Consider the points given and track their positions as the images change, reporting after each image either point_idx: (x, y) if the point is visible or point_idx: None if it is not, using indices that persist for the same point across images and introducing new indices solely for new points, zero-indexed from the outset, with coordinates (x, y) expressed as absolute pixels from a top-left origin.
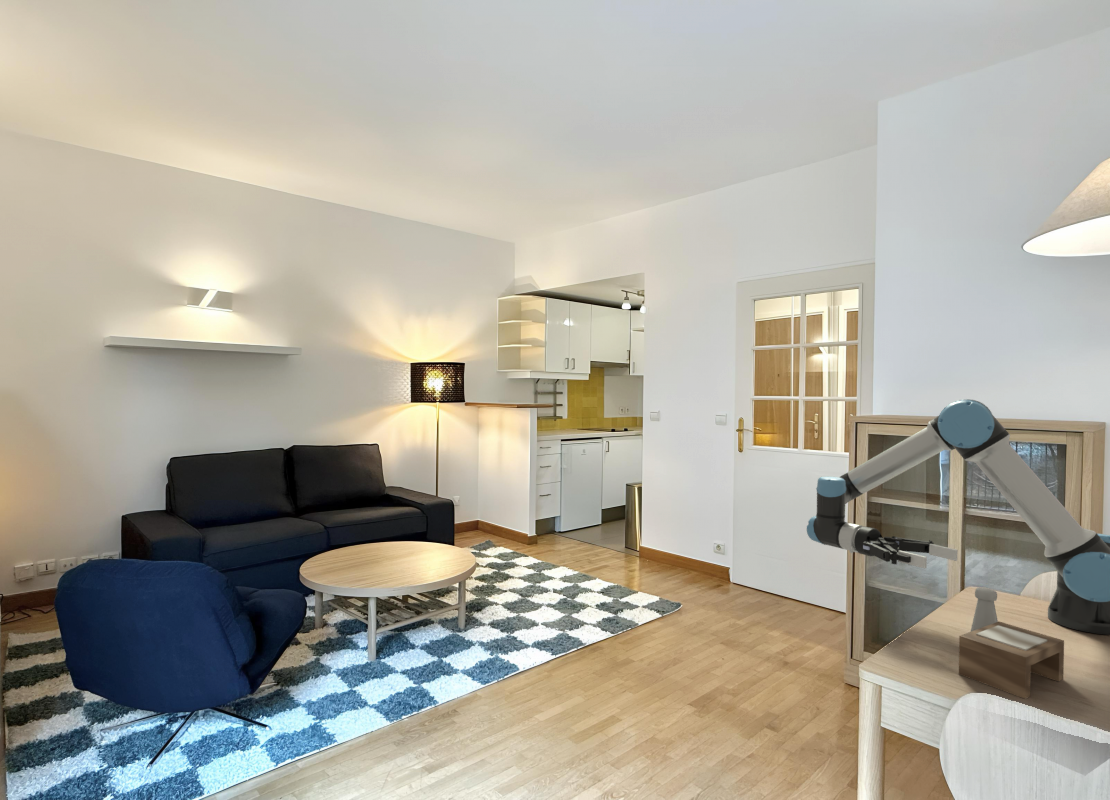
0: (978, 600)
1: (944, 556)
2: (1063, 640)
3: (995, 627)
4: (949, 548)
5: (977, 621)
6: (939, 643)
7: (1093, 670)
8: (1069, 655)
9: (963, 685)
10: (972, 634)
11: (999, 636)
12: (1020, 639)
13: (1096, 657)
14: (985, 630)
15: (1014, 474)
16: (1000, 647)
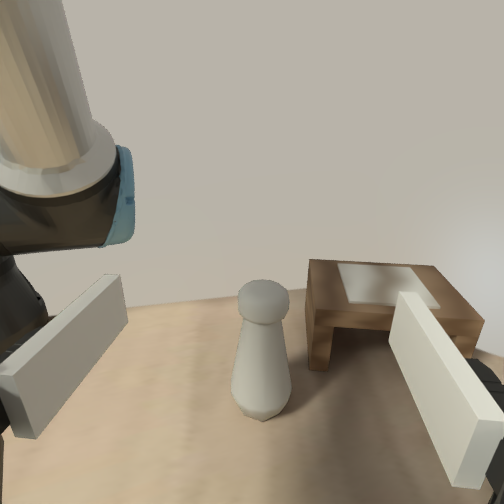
0: (274, 324)
1: (99, 349)
2: (310, 259)
3: (367, 300)
4: (96, 292)
5: (285, 365)
6: (359, 473)
7: (235, 299)
8: (195, 320)
9: (489, 365)
10: (445, 312)
11: (404, 289)
12: (379, 275)
13: (175, 304)
14: None
15: None
16: (442, 283)
